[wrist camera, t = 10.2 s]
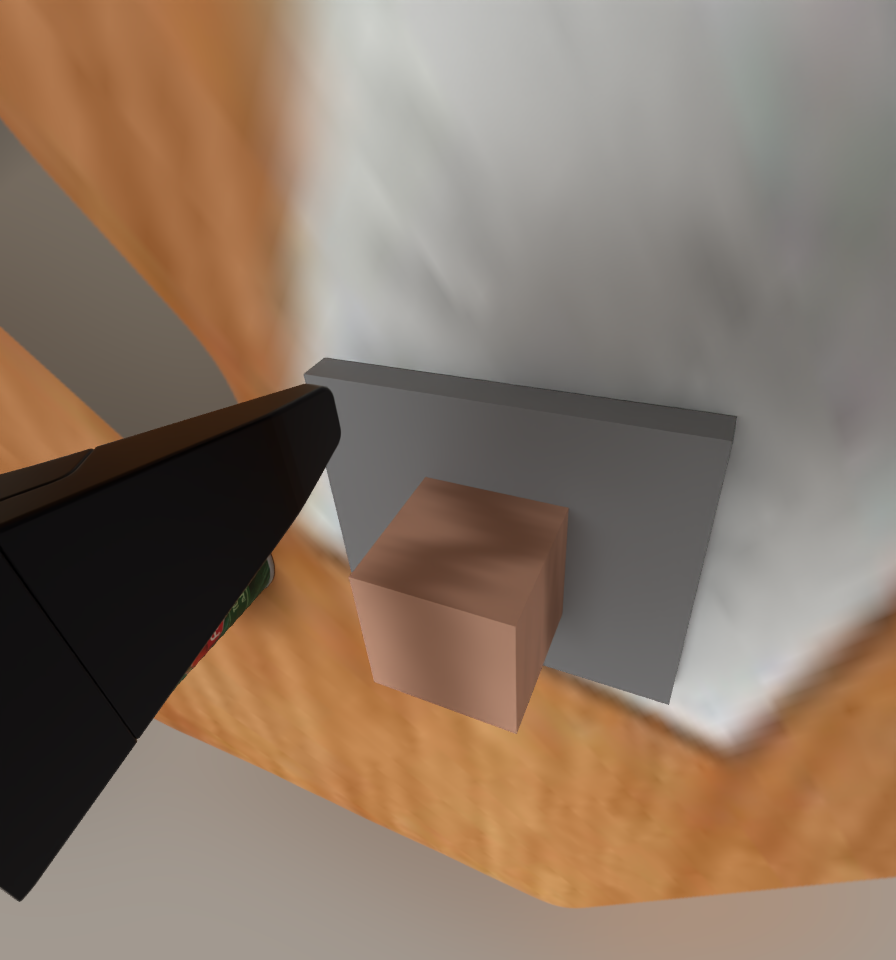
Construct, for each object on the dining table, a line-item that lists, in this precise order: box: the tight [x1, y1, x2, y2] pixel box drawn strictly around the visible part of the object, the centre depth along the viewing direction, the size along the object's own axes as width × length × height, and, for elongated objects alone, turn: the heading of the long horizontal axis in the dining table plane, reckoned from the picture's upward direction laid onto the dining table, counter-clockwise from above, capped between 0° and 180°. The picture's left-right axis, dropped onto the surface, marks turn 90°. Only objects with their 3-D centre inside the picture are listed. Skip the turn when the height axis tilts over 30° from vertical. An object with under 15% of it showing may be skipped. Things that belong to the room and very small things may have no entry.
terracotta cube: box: [349, 477, 569, 734], centre depth 24 cm, size 6×6×6 cm
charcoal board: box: [304, 358, 737, 705], centre depth 26 cm, size 16×14×2 cm
